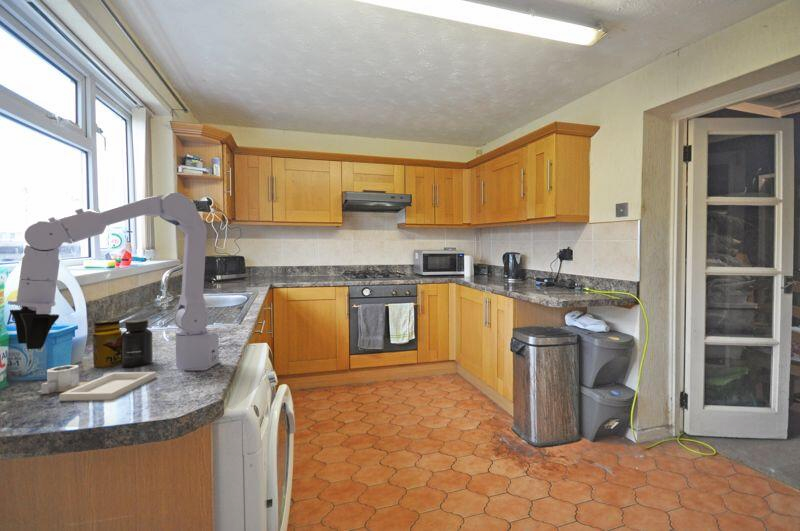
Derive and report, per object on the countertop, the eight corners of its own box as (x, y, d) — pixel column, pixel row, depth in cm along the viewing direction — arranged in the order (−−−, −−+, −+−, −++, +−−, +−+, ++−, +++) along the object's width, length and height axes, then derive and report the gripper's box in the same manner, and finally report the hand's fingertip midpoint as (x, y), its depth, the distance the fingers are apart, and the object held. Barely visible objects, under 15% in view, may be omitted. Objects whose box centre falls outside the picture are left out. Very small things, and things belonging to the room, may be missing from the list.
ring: (84, 382, 85) (84, 364, 85) (57, 393, 78) (56, 374, 78) (62, 383, 85) (61, 365, 85) (32, 394, 78) (32, 374, 78)
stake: (88, 384, 85) (88, 368, 85) (65, 393, 79) (65, 376, 79) (61, 384, 85) (61, 369, 85) (36, 394, 79) (36, 377, 79)
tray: (156, 379, 88) (156, 371, 88) (111, 402, 74) (111, 393, 74) (112, 380, 88) (112, 372, 88) (59, 403, 74) (59, 394, 74)
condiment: (123, 367, 99) (122, 321, 99) (81, 372, 94) (79, 324, 94) (124, 360, 105) (123, 317, 105) (85, 366, 100) (83, 320, 100)
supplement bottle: (128, 371, 95) (127, 323, 94) (116, 367, 98) (115, 321, 98) (158, 364, 100) (157, 319, 100) (145, 361, 104) (144, 317, 104)
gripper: (4, 277, 80) (-5, 341, 79) (20, 280, 72) (10, 353, 71) (48, 279, 86) (40, 339, 85) (68, 283, 77) (59, 350, 77)
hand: (29, 345), depth 78 cm, fingers open, 7 cm apart
